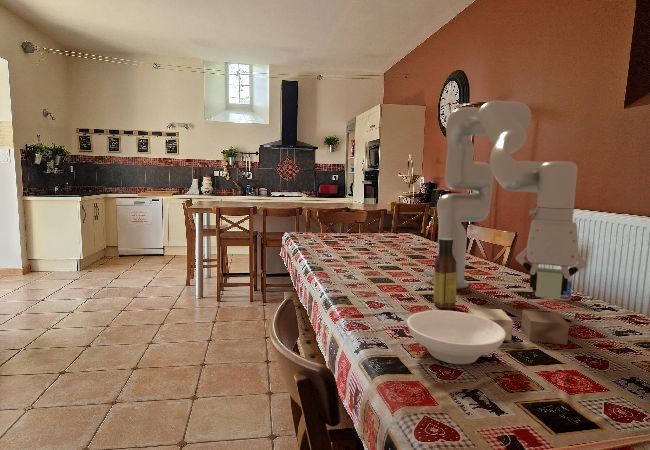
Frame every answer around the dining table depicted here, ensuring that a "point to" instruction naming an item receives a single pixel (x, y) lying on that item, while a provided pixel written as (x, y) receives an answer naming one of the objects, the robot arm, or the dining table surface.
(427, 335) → the bowl
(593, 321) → the dining table surface
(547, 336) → the tan square block
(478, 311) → the beech block
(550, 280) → the sage block
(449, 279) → the sauce bottle
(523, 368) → the dining table surface
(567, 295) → the pill bottle
